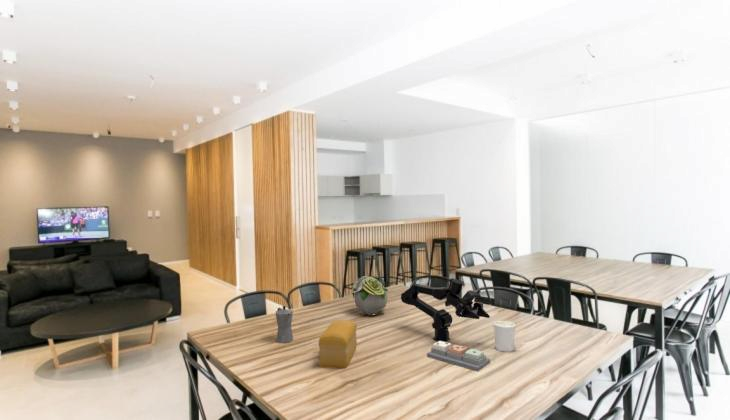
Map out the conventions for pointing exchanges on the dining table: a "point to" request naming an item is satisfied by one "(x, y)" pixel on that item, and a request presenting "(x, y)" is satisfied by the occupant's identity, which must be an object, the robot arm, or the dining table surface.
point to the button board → (458, 359)
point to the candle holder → (504, 335)
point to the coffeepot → (284, 325)
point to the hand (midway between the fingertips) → (484, 317)
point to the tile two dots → (442, 345)
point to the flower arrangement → (370, 294)
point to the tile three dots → (457, 350)
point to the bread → (338, 344)
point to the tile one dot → (474, 354)
